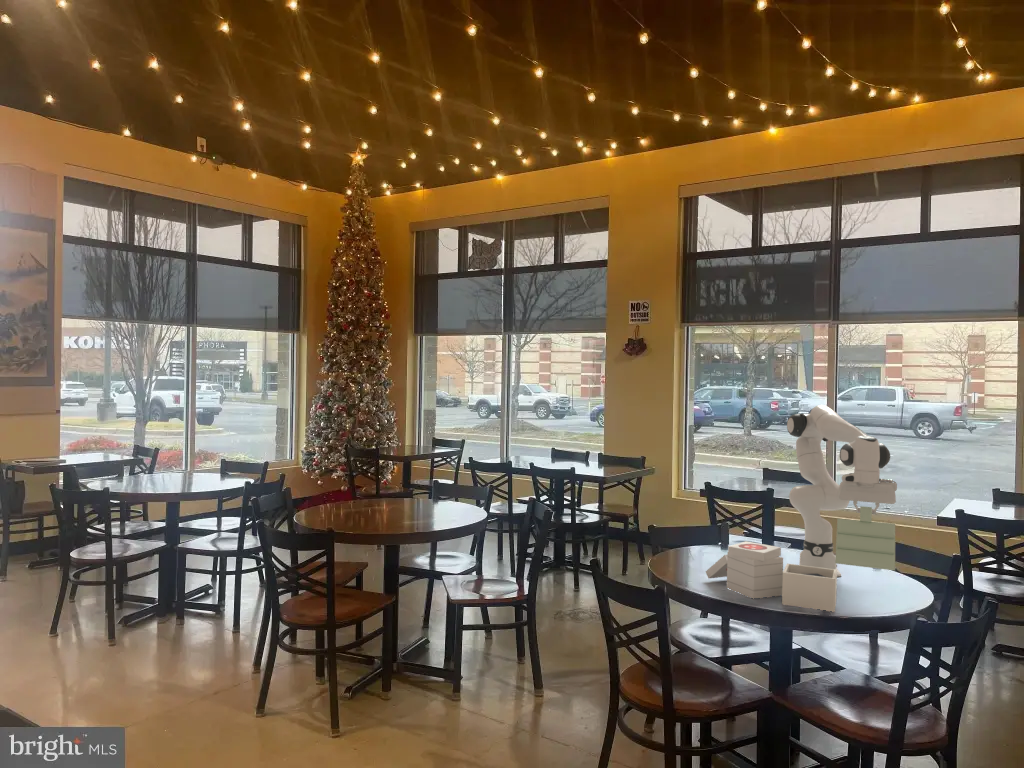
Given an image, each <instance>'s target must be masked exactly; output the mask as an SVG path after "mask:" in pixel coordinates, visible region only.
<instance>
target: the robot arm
mask: <svg viewBox="0 0 1024 768" xmlns="http://www.w3.org/2000/svg"><path fill="white" fill-rule="evenodd" d="M786 429H787V432H788V433H789V435H791V437H792V436H793V437H796V438H797V439H796V440H795V441H796V442H795V452H796V459H797V463H798V468H799V471H800V476H801V477H802V478H804V479H805V480H806V481H808V482H810V483H811V485H809V484H804V485H797V486H794V487H792V489H791V490H790V492H789V495H788V498H789V503H790V504H791V505H792V507H793V508H794V509H795V510H797V511H798V512H799V514H800V515H801V517H802V519H803V522H804V539H803V550H802V551H800V553H799V563H798V565H803V566H811V567H819V568H828V569H836V570H837V578H838V577H842V573H841V572H840V570H839V569H838V568H837V567H838V564H836V563H835V560H836V554H834V552H833V551H834V543H833V526H832V524H831V522H830V521H829V520H827V519H825V518H824V517H822V516H821V511H834V512H835V511H841V510H844V509H846V508H847V507H849V503H850V501H852V502H853V506H854V508H855V511H856V513H857V514H860V507H858V505H857V504H858V502H863V503H875V507H874V508H872V515H877V510H878V509H879V507H880V504H888V505H894V504H895V503H896V502H897V501H896V500H897V497H896V491H897V489H898V483H897V482H896V481H895V480H893V479H885V478H880V474H881V473H880V471H881V469H883V468H885V467H886V466H887V465H888V464H889V462H890V460H891V453H890V450H889V449H888V447H887V446H886V445H885V444H883V443H881V442H879V440H878V439H877V438H876V437H874V436H870V435H868V434H867V433H866V432H865V431H863V430H862V429H860V427H857V426H855V425H853V424H852V423H850V422H848V421H847V420H845V419H843V417H841V416H840V415H839V414H838V413H837V412H836V411H835V410H833V409H832V408H830V407H829V406H827V405H824V404H818V405H816V406H813V408H812V409H811V410H810V412H809V413H795V414H792V415H790V416H789V417H788V418H787V422H786ZM828 441H833V442H840V443H841V442H842V443H844V444H843V445H842V447H841V448H840V449H839V460H840V462H841V463H842V464H843V465H844V466H846V467H849V468H854V471H853V472H852V473H851V472H850V473H849V472H848V473H847V474H842V475H841V481H840V483H837V482H836V480H835V479H833V477H832V476H831V475H830V473H829V471H828V468H827V465H826V461H825V458H824V454H823V450H822V446H821V442H825V443H826V442H828Z"/></svg>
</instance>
